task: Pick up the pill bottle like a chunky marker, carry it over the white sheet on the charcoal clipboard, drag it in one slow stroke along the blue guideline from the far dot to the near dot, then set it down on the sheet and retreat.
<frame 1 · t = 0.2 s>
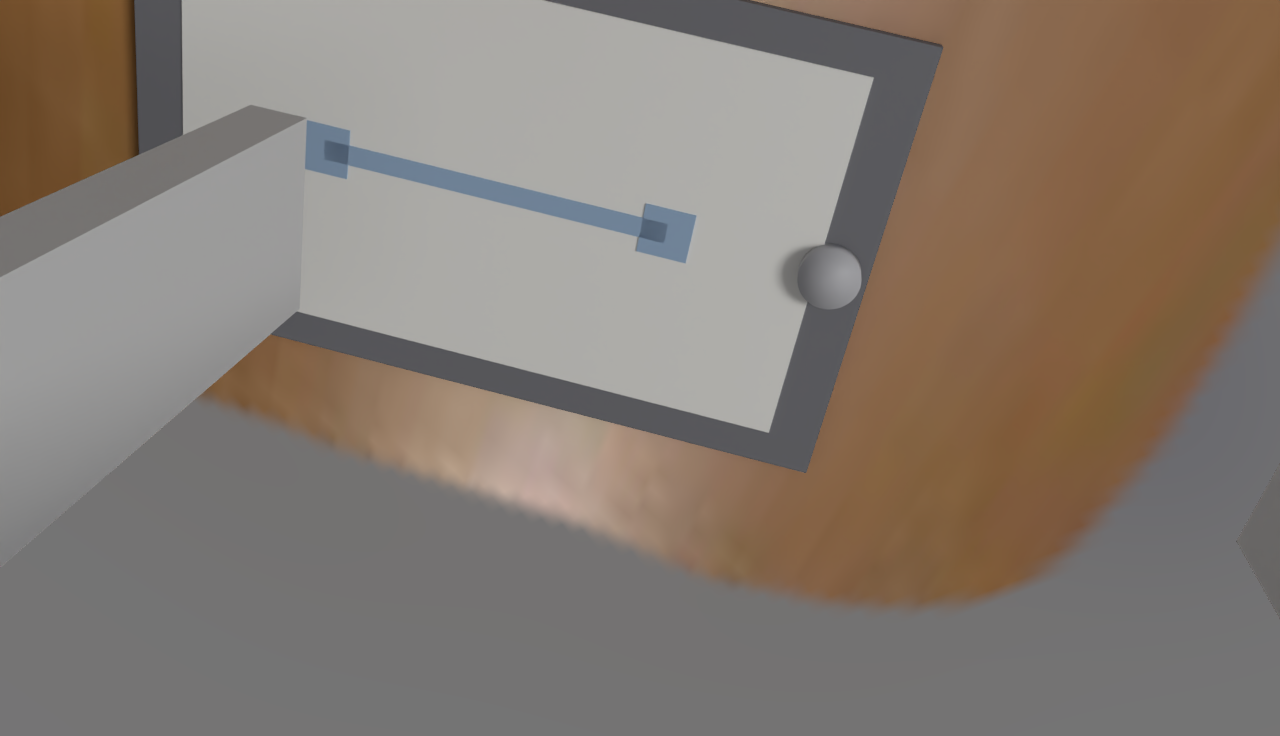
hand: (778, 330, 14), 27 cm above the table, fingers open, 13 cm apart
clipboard: (498, 185, 43), on the table
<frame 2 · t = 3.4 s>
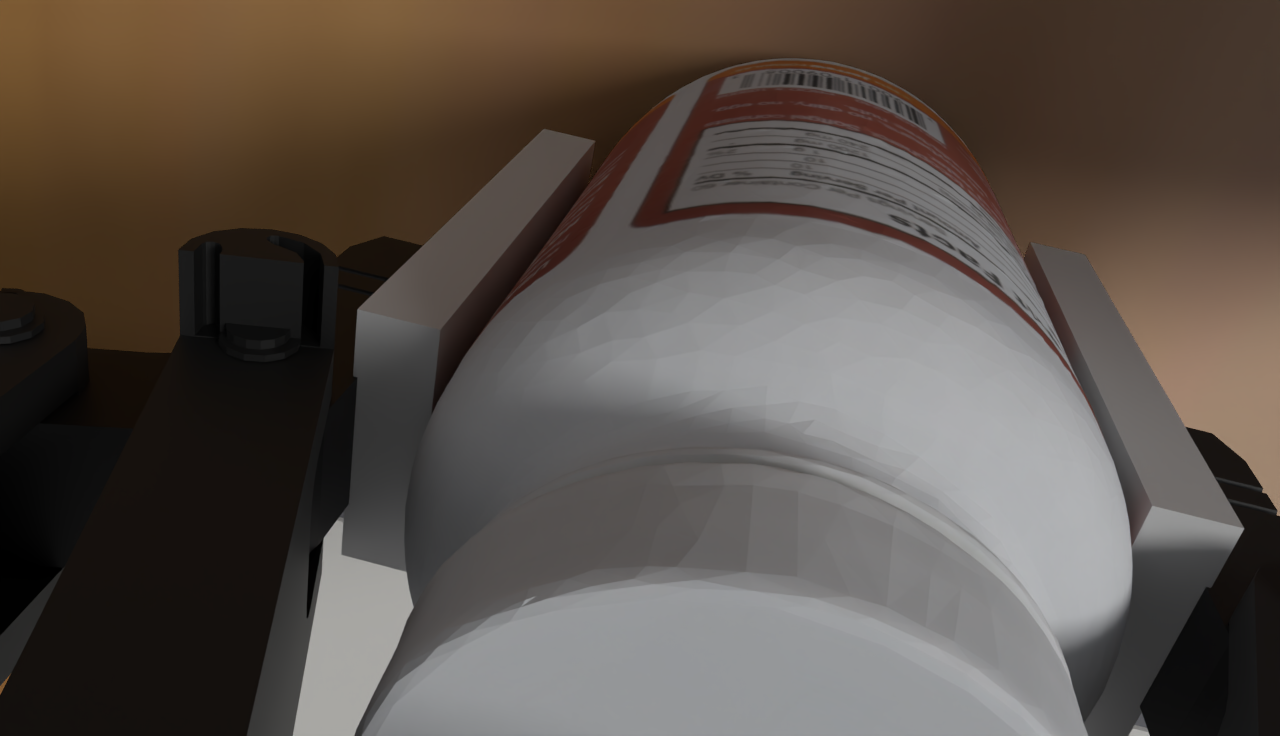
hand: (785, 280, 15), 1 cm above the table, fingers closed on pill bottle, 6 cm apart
pill bottle: (788, 252, 16), on the table, touching gripper
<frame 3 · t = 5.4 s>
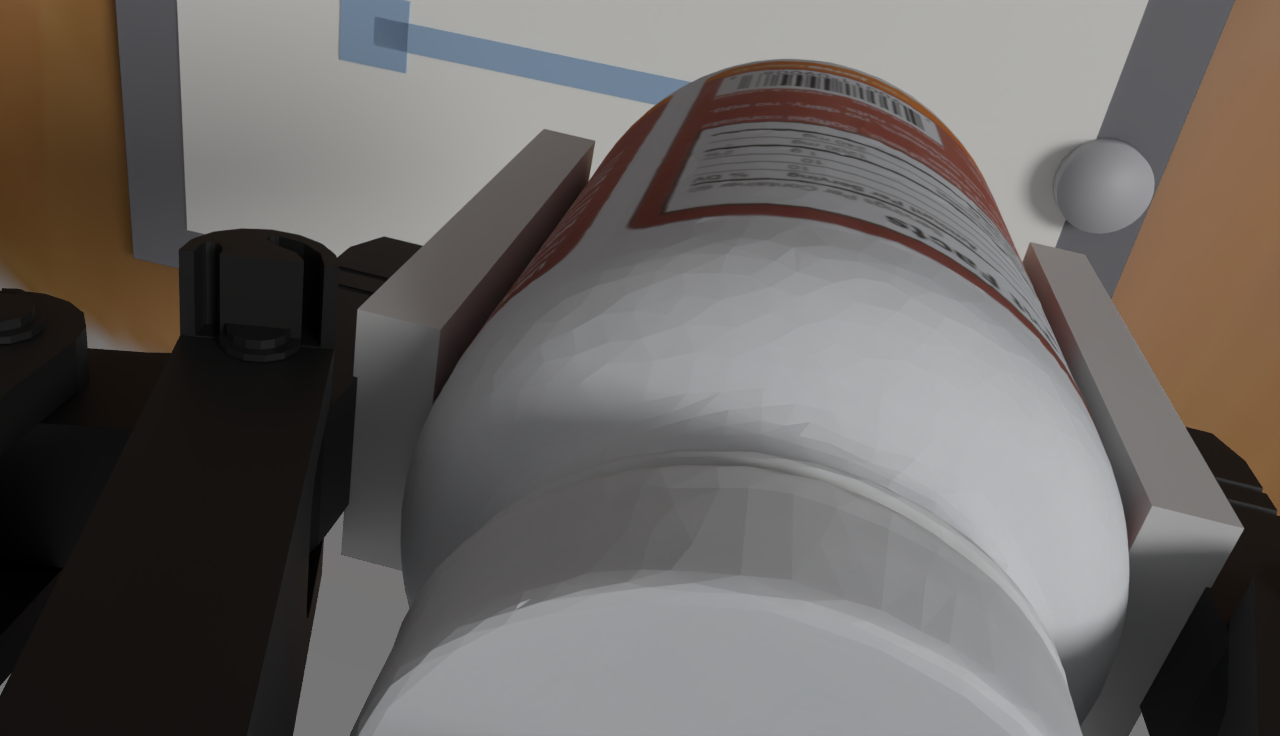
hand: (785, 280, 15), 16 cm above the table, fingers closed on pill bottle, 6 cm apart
pill bottle: (786, 253, 16), point 15 cm above the table, touching gripper
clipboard: (618, 75, 30), on the table
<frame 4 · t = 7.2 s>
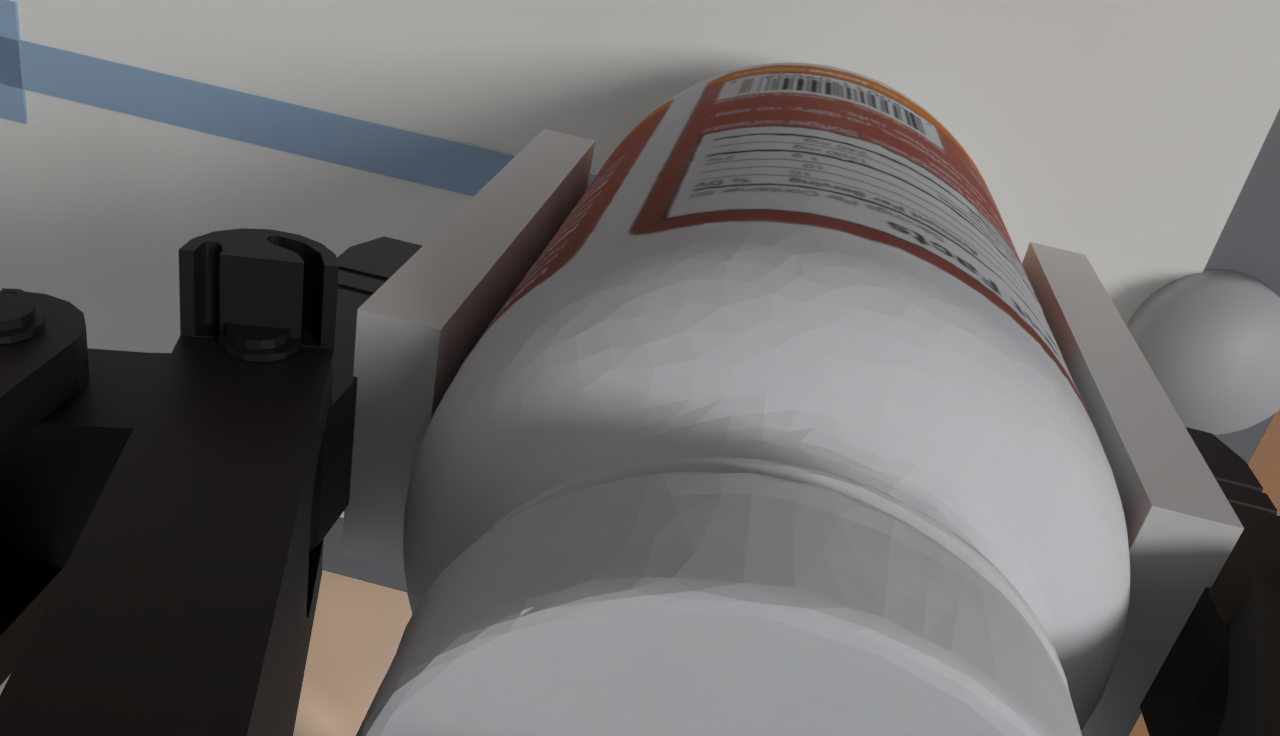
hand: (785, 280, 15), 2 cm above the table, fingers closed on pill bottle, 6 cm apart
pill bottle: (787, 256, 16), point 1 cm above the table, touching gripper
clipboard: (384, 135, 18), on the table
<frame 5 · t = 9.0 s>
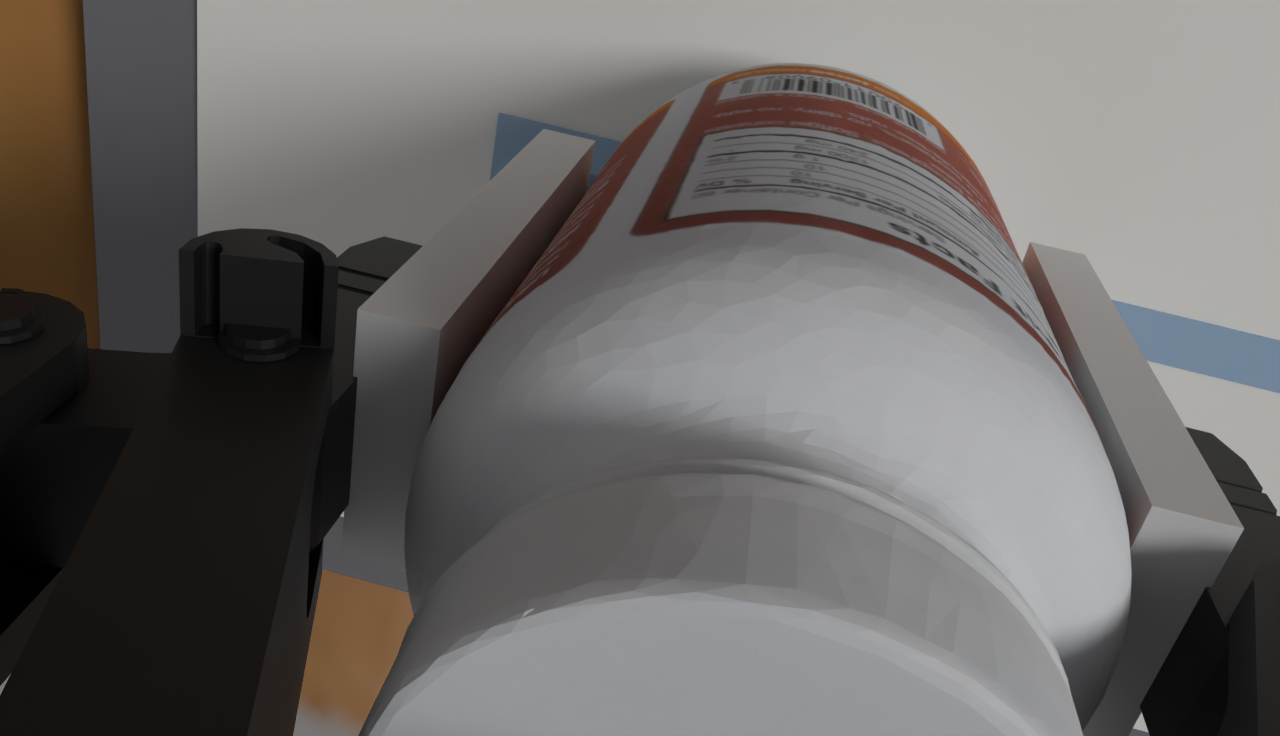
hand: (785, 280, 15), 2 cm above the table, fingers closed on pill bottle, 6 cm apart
pill bottle: (788, 256, 16), point 1 cm above the table, touching gripper
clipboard: (979, 278, 17), on the table
when the fingers open (2 cm above the table, at t = 10.8 s): pill bottle stays where it is, resting on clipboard.
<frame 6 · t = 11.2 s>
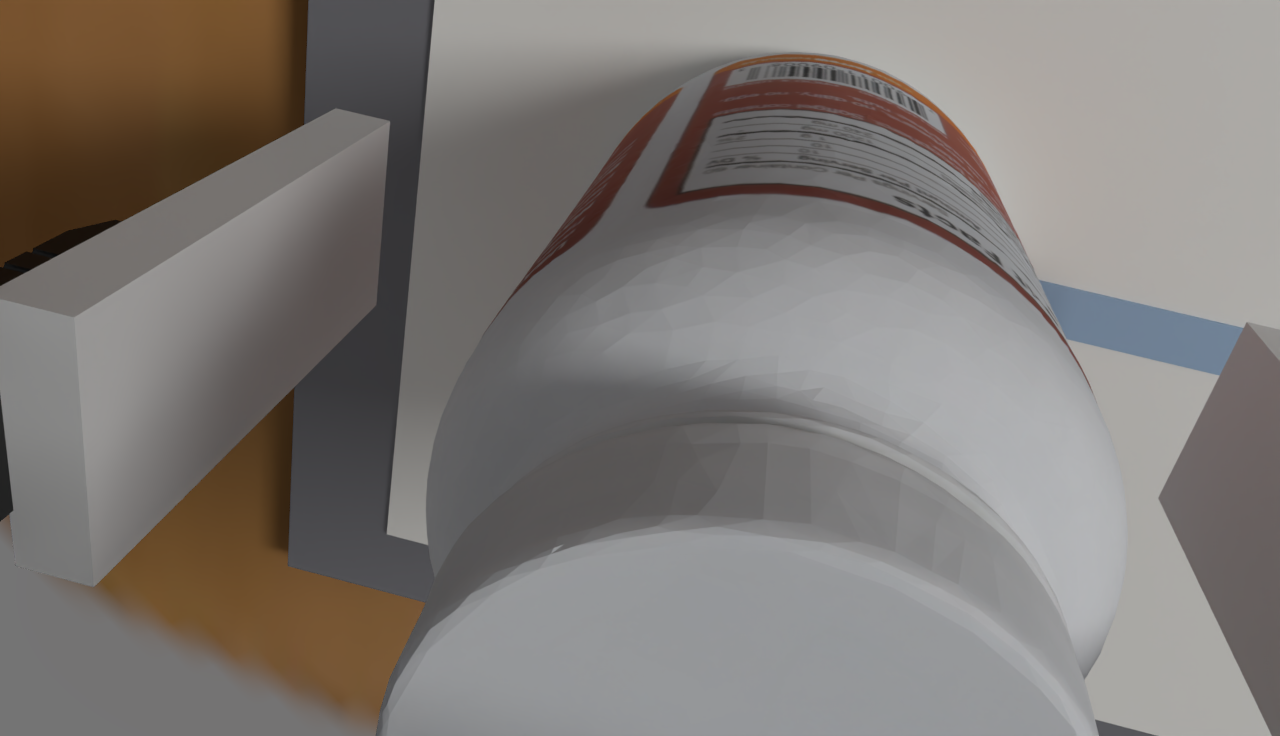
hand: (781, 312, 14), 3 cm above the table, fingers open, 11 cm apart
pill bottle: (792, 243, 17), point 1 cm above the table, touching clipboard
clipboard: (1228, 335, 17), on the table
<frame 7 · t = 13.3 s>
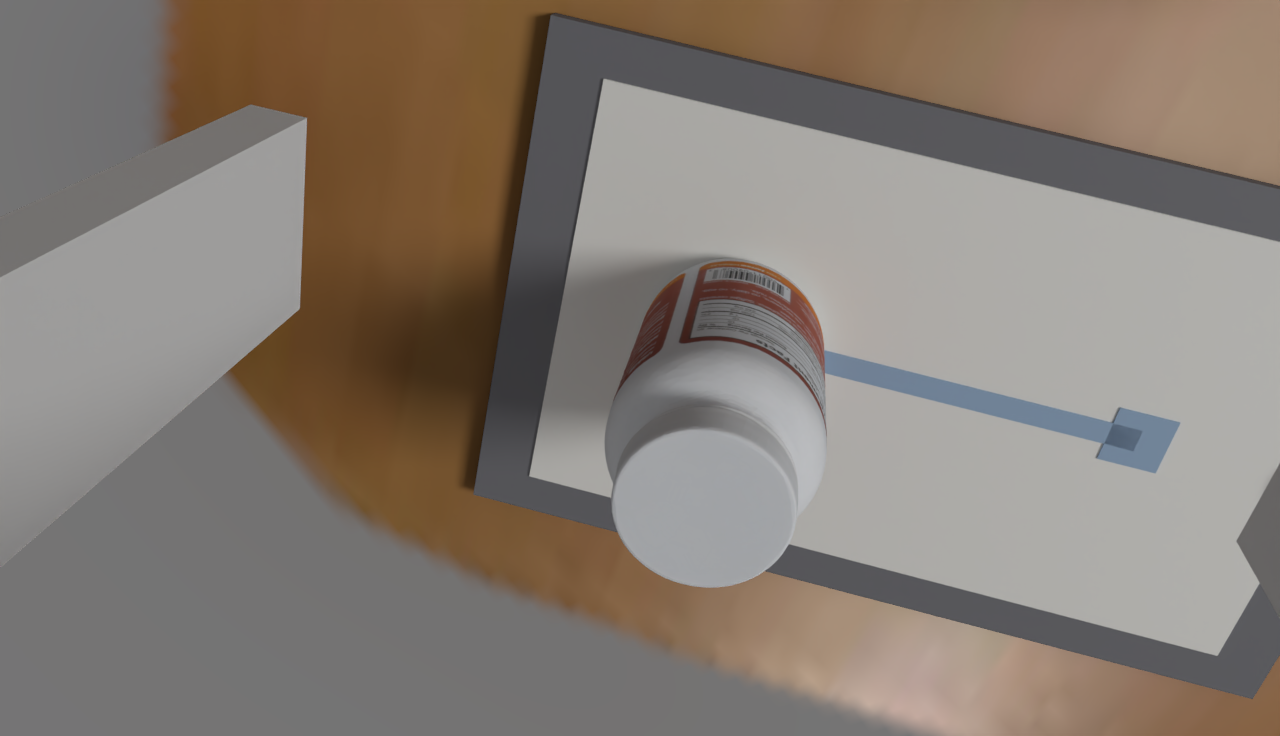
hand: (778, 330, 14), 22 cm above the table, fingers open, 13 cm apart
pill bottle: (733, 336, 37), point 1 cm above the table, touching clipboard
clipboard: (931, 379, 37), on the table
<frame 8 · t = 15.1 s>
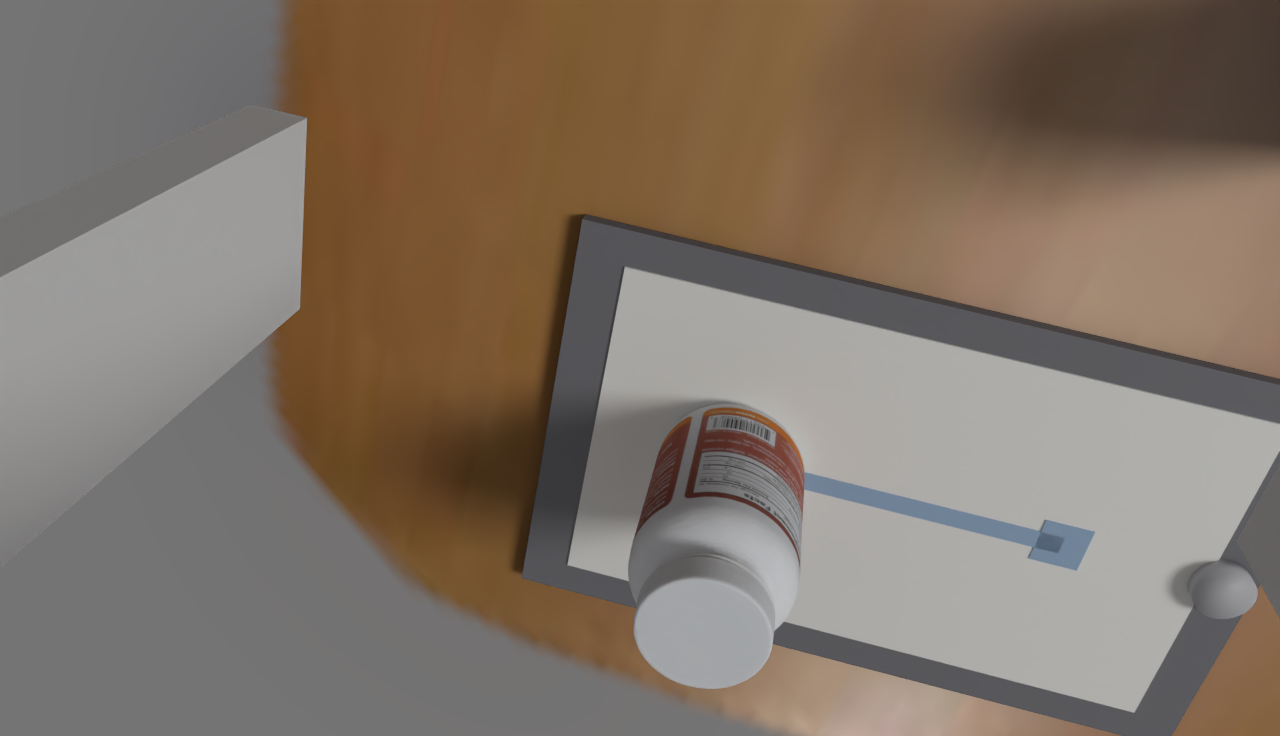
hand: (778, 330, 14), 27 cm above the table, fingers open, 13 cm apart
pill bottle: (732, 460, 45), point 1 cm above the table, touching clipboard
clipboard: (893, 494, 45), on the table
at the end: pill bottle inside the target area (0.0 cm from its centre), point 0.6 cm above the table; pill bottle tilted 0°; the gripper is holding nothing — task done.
